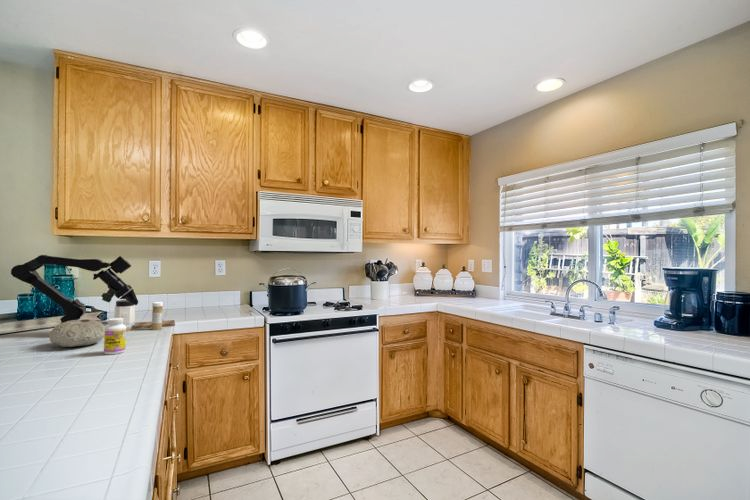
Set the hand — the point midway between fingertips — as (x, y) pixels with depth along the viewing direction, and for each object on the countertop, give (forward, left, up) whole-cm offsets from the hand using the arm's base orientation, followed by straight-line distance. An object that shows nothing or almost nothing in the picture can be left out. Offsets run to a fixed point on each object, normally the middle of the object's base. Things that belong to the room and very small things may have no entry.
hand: (137, 303), depth 174 cm
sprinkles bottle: (+5, -7, -13) cm, 16 cm away
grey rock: (-29, 0, -13) cm, 32 cm away
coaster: (-3, +7, -13) cm, 15 cm away
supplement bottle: (-35, -23, -13) cm, 44 cm away
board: (+13, +1, -13) cm, 18 cm away
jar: (+14, +20, -13) cm, 27 cm away
